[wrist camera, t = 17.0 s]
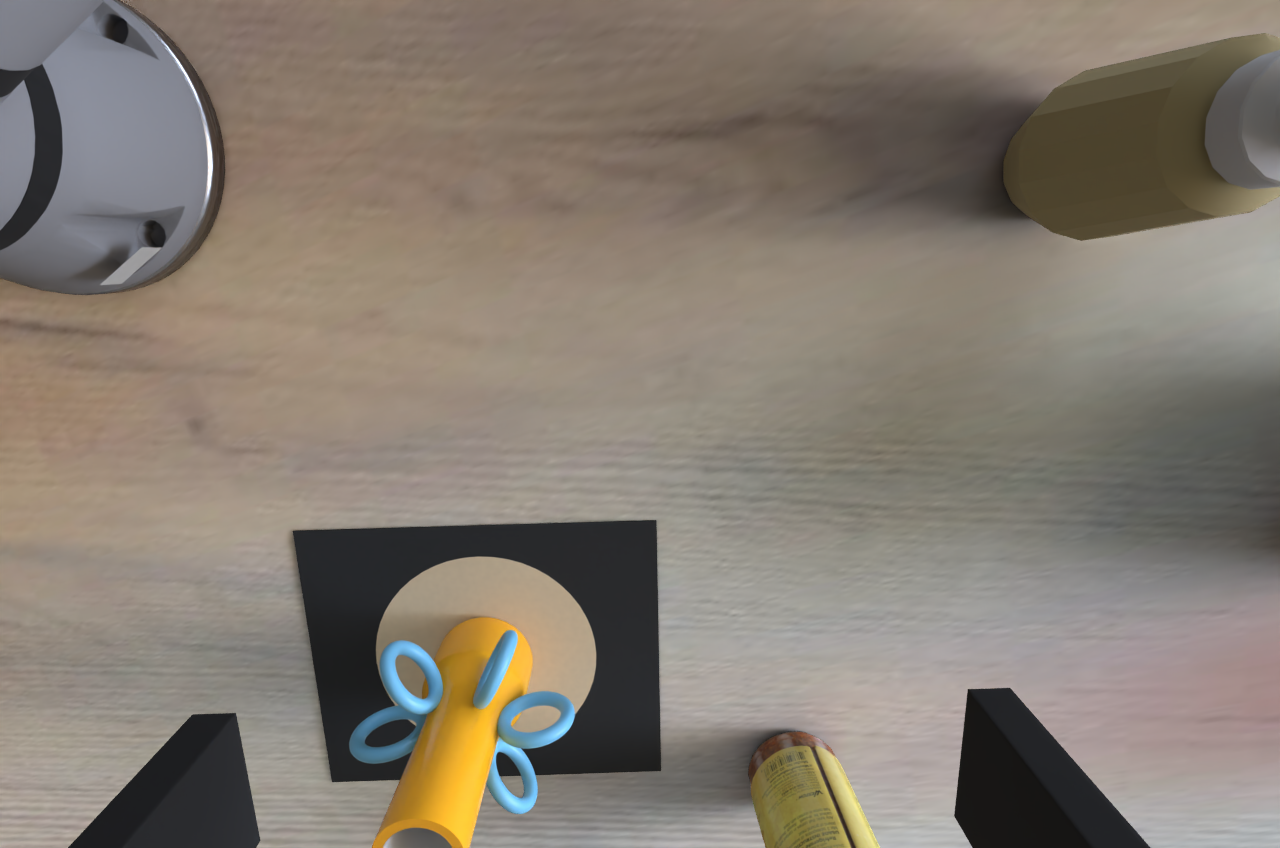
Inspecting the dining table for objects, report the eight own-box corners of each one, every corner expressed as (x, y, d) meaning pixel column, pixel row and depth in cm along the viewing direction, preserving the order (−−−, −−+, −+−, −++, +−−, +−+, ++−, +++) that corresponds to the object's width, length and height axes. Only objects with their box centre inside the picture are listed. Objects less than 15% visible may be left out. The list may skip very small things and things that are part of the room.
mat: (332, 781, 46) (332, 782, 46) (293, 530, 42) (292, 531, 42) (660, 769, 46) (660, 771, 46) (656, 520, 42) (656, 520, 42)
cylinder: (406, 736, 45) (302, 966, 31) (376, 593, 43) (247, 769, 28) (591, 718, 45) (575, 940, 31) (572, 573, 43) (544, 741, 28)
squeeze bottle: (1072, 266, 39) (1438, 280, 21) (952, 200, 38) (1232, 157, 20) (1158, 128, 37) (1631, 20, 20) (1034, 55, 36) (1418, -128, 19)
